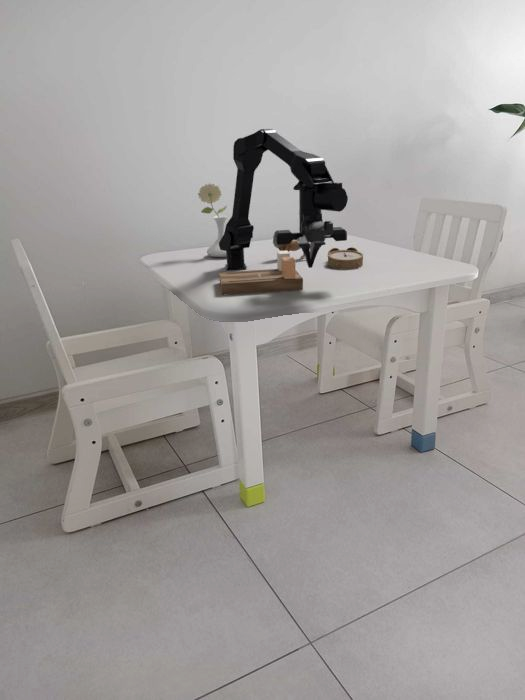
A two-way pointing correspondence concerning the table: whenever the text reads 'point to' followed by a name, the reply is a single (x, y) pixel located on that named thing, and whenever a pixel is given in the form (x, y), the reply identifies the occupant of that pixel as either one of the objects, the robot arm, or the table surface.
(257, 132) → the robot arm
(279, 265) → the block
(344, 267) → the alarm clock
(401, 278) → the table surface
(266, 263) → the table surface
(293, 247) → the lion figurine
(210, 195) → the flower in vase
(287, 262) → the terracotta fader
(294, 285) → the board
